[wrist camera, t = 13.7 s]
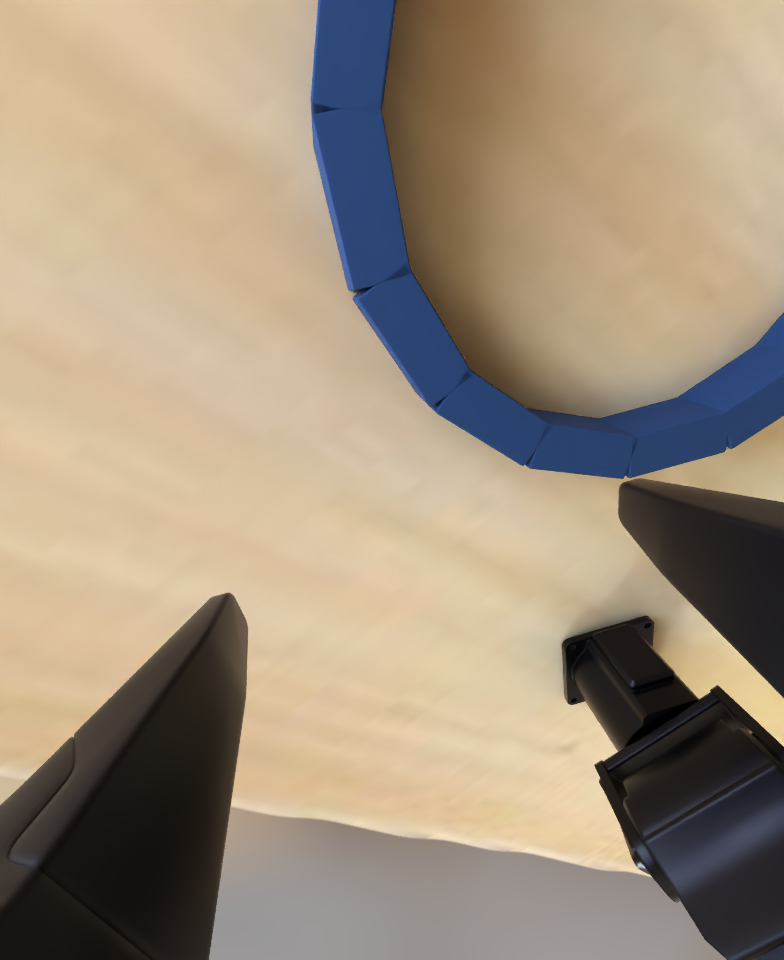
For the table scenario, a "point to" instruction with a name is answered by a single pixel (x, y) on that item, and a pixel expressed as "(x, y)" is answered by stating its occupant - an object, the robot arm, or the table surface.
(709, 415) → the ring
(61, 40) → the table surface
